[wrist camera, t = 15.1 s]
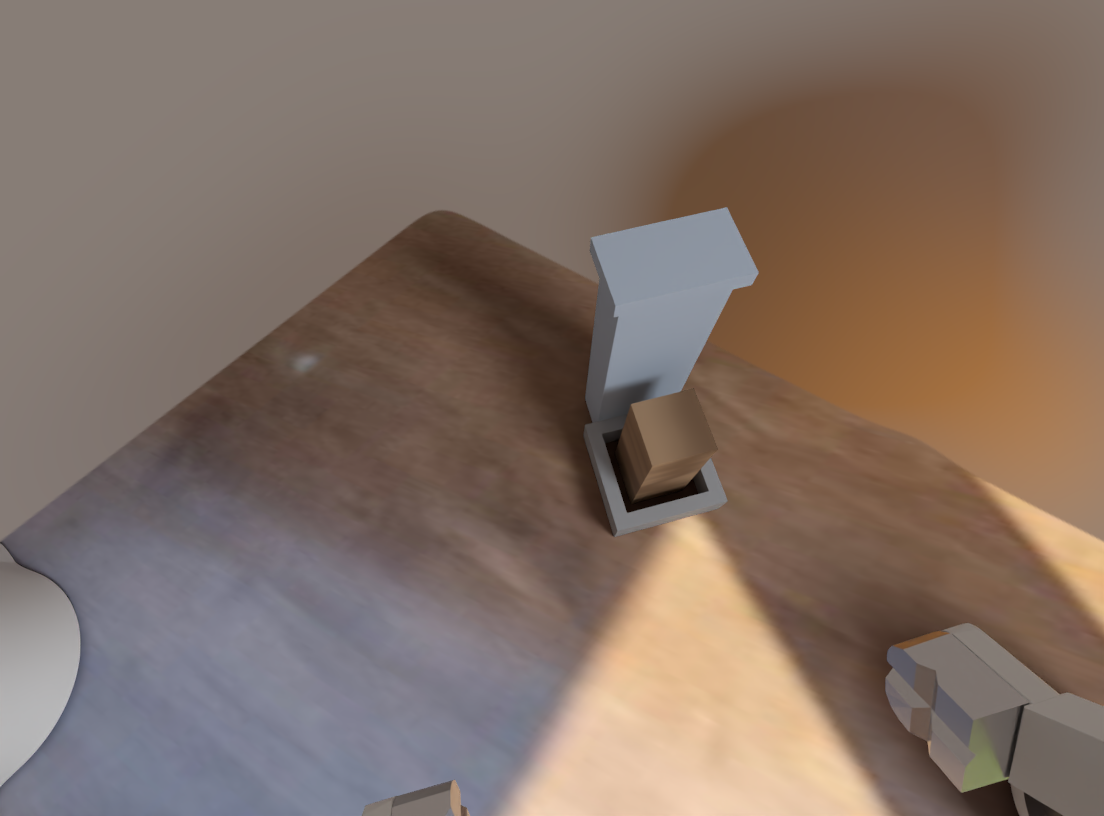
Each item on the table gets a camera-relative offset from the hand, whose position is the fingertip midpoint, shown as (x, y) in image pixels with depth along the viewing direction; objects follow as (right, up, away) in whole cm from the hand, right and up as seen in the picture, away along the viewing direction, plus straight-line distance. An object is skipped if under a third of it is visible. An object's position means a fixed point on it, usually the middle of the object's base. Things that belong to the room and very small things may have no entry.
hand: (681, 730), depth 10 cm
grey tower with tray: (+5, +3, +33) cm, 33 cm away
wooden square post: (+5, +1, +32) cm, 32 cm away
